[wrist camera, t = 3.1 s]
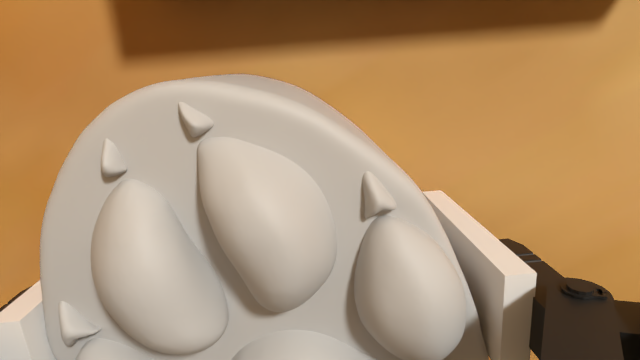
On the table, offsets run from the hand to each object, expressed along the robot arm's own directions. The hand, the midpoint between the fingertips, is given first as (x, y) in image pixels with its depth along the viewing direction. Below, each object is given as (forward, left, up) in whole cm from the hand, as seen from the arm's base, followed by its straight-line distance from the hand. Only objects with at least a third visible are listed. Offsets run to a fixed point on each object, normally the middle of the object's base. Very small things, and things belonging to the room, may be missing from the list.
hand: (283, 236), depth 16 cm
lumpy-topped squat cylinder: (0, 0, -1) cm, 1 cm away
